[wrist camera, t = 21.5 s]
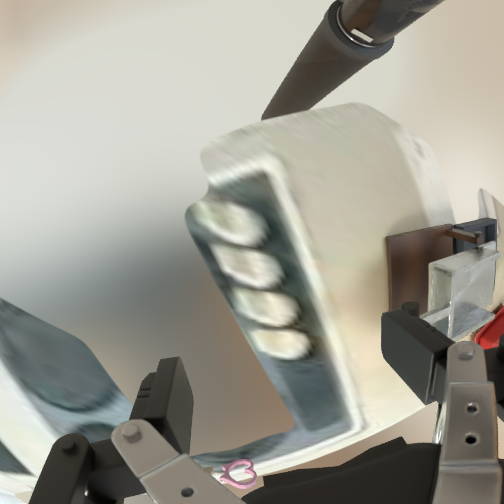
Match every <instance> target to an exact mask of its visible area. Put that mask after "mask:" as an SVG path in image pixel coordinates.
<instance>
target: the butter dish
mask: <svg viewBox="0 0 504 504" xmlns="http://www.w3.org/2000/svg"><path fill="white" fill-rule="evenodd" d="M503 333H504V306H503V307H502V308H501V309H500V310H499V311H498V312H497V314H496V315H495V318H494V319H493V320H492V321H490V322H489V323H487V324H486V325H485V326H484V327H483V328H482V329H481V330H480V331H479V332H478V333H477V335H476V336H475V339H474V341H475V343H477V344H479V345H480V346H481V347H482V348H483V350H484V349H489V348H493V347H497V346H498V343H499V338H500V336H501V335H502V334H503Z"/></svg>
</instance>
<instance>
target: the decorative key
mask: <svg viewBox="0 0 504 504" xmlns="http://www.w3.org/2000/svg"><path fill="white" fill-rule="evenodd" d="M244 464H245V465H249V466H250V467H249V468H246V469H245V473H249V474H251V475H253V476H254V478H253V479H252V480H251V481H250V482H247V483H240V482H237V481H235V480H234V479H232V478H231V477H230V476H229V472H230V471H231V470H232V469H233V468H234V467H235V466H237V465H244ZM222 466H223V470H224V471H214V470H213V469H212V467H207V468H203V469H204V470H206V471H207V472H208V473H209V474H210V475H212V474H217V475H222V476H221V477H220V480H221V481H224V482H227V483H229V484H231V485H233V486H235V487H237V488H241V489H246V488H250V487H252V486H254V485H255V483H256V481H257V474H256V472H255V471H254V470H253V462H252V461H251V460H249V459H237V460H235V461H233V462H231V463H229V464H225V465H222Z"/></svg>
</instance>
